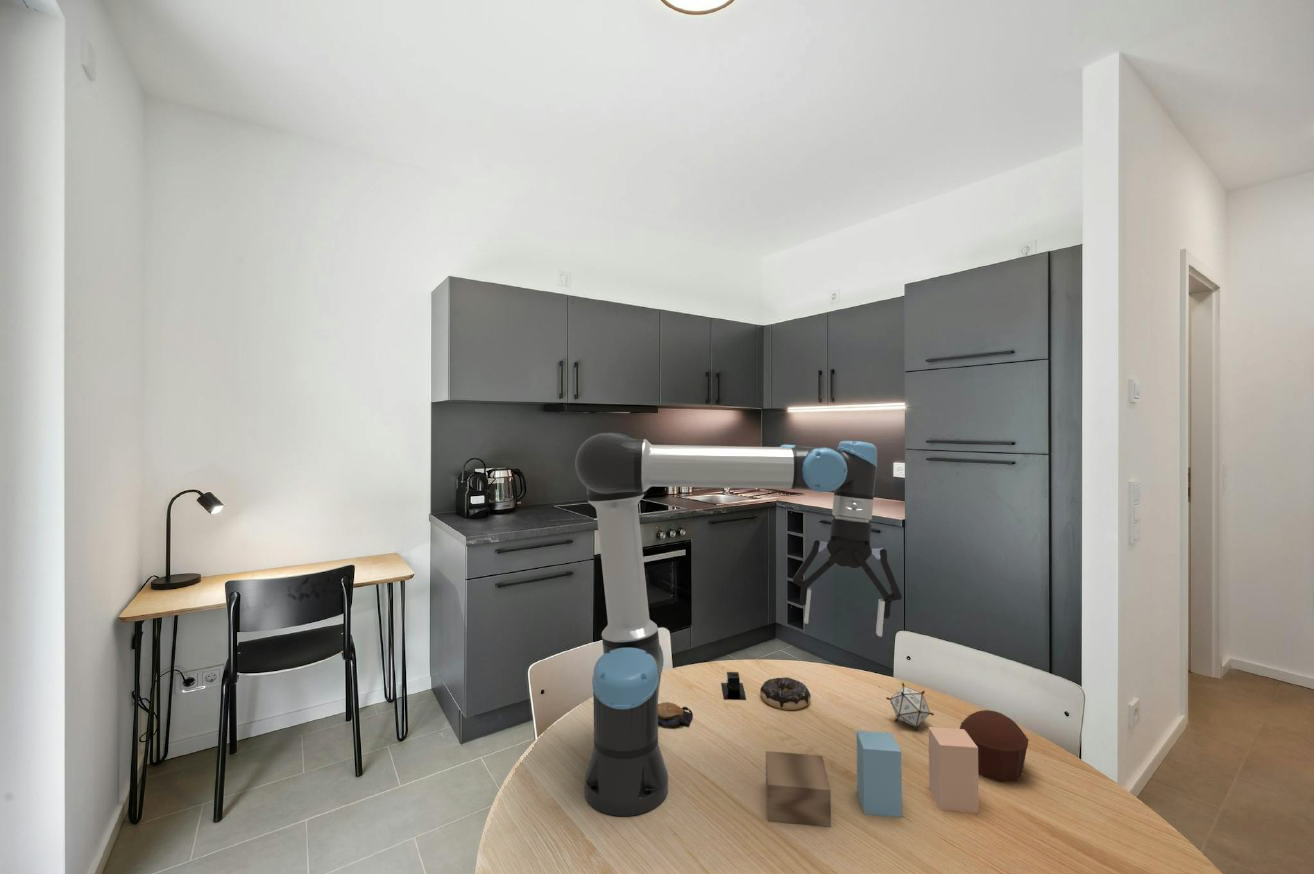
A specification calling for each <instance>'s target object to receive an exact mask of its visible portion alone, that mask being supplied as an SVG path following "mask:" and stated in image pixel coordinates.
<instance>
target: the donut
mask: <svg viewBox="0 0 1314 874" xmlns="http://www.w3.org/2000/svg"><path fill="white" fill-rule="evenodd" d="M760 695H761V698H762V700H763V701H764V702H765V703H766V704H767V705H769V706H771V707H773V708H775V709H779V710H785V711H789V710H790V711H797V710H801V709H803V708H806V707H807V706H808V705H809V704H810V702H811V693H810V690H809V689H808V687H807V686H806V684H804V683H803V682H801V681H800V680H798V679H794V678H791V677H786V676H785V677H774V678H770V679H767V680H766V681H764V682H763V684H762V685H761V687H760Z"/></svg>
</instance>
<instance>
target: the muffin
mask: <svg viewBox="0 0 1314 874" xmlns="http://www.w3.org/2000/svg"><path fill="white" fill-rule="evenodd" d="M959 729H964V730H965V731H966V732H967V734H968V735H969V736H970V738H971V739H972V740H973V742H974V743H975V744H976V746H977V747H978V775H980V776H982V777H983V778H985V779H991V780H994V781H997V782H1000V783H1001V782H1002V783H1003V782H1004V783H1005V782H1013V783H1014V782H1017V780H1018V779H1020V778H1021V777H1022V776H1023V772H1024V766H1025V761H1026V754H1027V749H1028V746H1029V738H1028V737H1027V736H1026V734H1025V733H1024V732H1023V731H1022V728H1020V726H1019V725H1018V724H1017V722H1015V721H1014V720H1013V719H1012V718H1010V717H1008V716H1007V715H1005V714H1003V713H1001V712H999V711H995V710H989V709H985V710H984V709H983V710H978V711H977V710H976V711H975V712H973V713H971V714H969V715H968V716H967V717H966V718H965V719H963V721H961V722H960V725H959Z"/></svg>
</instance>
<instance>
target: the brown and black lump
mask: <svg viewBox="0 0 1314 874" xmlns="http://www.w3.org/2000/svg"><path fill="white" fill-rule="evenodd" d="M693 718H694V713H693V712H692V710H691V709H690V708H689V707H687V706H682V707H681V706H679V705H677V704H676V703H674V702H667V701H666V702H660V703H658V728H662V729H664V728H665V729H683V728H685V727H687V728H690V726H691V722H692V721H693Z"/></svg>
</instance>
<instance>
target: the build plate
mask: <svg viewBox="0 0 1314 874" xmlns="http://www.w3.org/2000/svg"><path fill="white" fill-rule="evenodd" d="M740 681H741V680H740V675H739V672H738V671H727V672H726V682H720V684H721V691H722V696H723V697H722V699H723V700H725V701H728V700H729V701H747V696H746V692H745V691H746V690H745V687H744V683H743V682H740Z"/></svg>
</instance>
